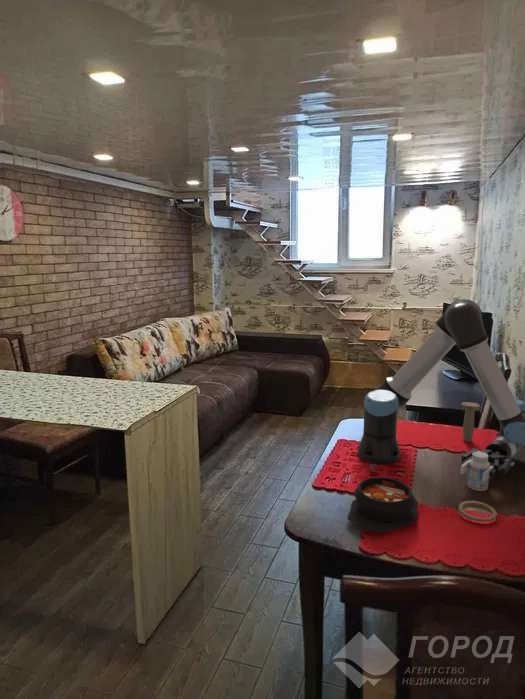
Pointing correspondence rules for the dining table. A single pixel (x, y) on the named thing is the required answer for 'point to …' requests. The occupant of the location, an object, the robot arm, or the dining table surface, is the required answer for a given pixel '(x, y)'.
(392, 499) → the casserole
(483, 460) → the pill bottle
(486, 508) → the ring
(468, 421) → the handle
